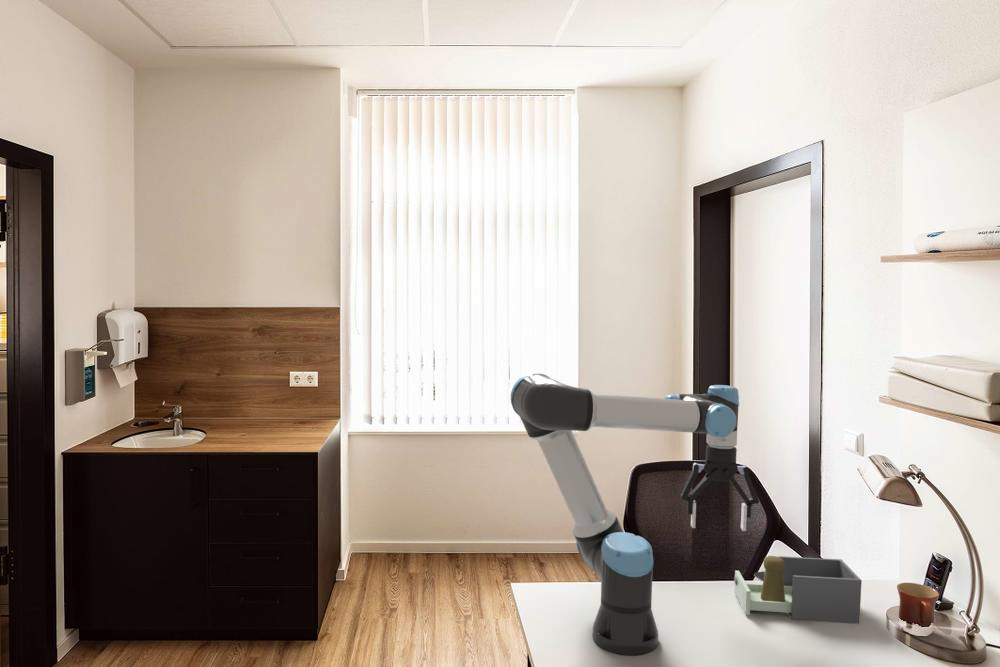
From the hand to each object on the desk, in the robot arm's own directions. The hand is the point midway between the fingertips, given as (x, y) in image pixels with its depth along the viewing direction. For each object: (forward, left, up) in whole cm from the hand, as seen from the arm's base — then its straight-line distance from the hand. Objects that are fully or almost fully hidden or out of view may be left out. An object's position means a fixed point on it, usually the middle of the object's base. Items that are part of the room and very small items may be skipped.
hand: (718, 528), depth 184 cm
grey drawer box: (+25, 0, -20) cm, 32 cm away
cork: (+14, 0, -18) cm, 23 cm away
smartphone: (+20, +16, -21) cm, 33 cm away
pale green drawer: (+13, 0, -20) cm, 24 cm away
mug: (+45, -10, -20) cm, 51 cm away
